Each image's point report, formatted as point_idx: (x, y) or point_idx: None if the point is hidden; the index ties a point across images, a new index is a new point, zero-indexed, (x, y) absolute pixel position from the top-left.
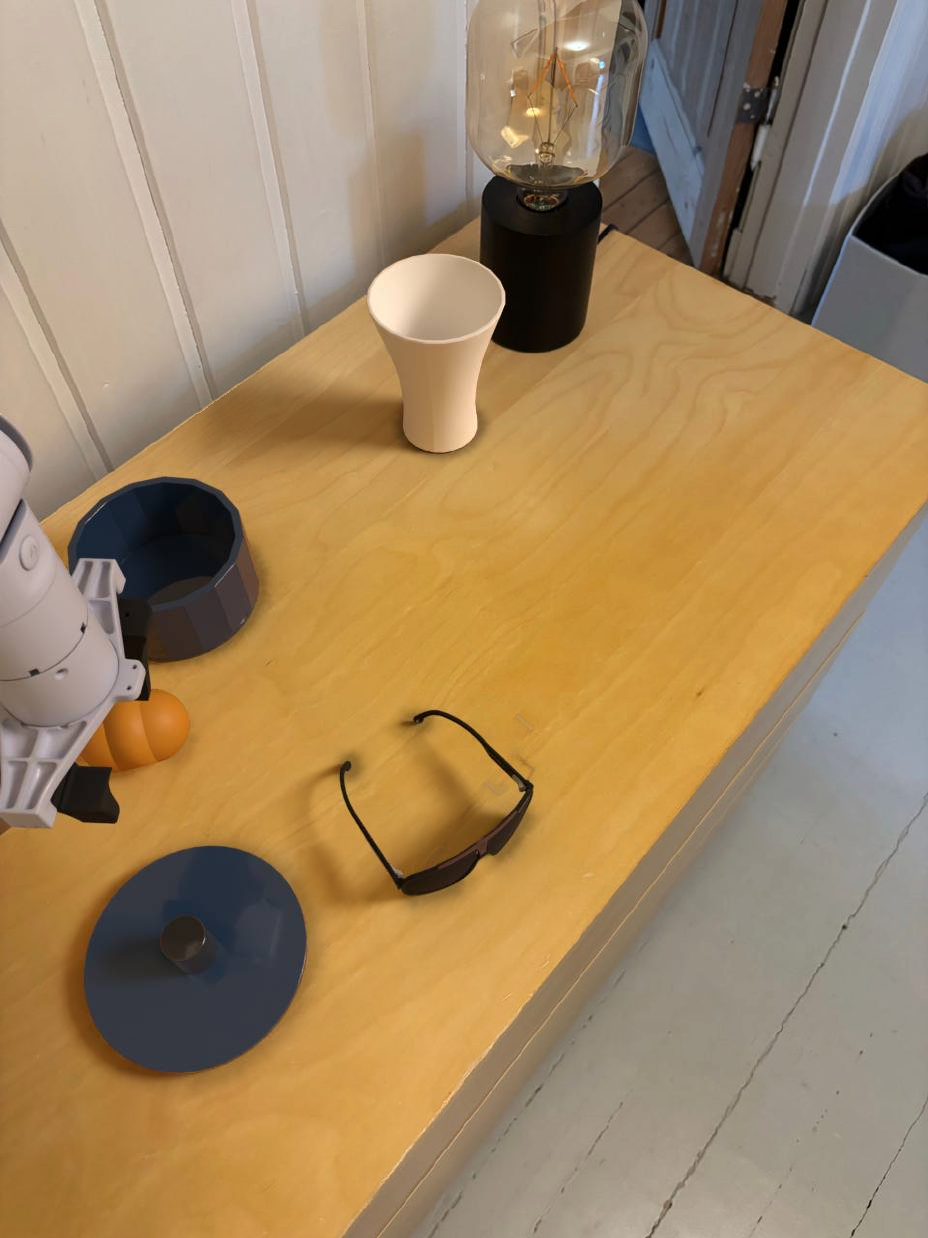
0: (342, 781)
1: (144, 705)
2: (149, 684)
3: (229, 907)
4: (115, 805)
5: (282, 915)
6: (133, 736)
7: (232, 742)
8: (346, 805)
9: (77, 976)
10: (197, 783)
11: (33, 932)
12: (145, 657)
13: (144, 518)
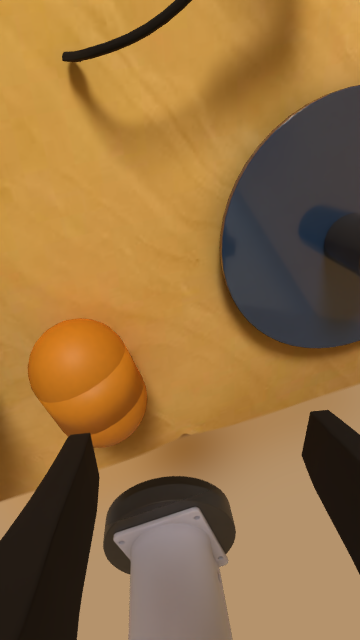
0: (118, 40)
1: (65, 394)
2: (64, 460)
3: (301, 210)
4: (355, 446)
5: (319, 131)
6: (112, 390)
7: (69, 260)
8: (166, 20)
9: None
10: (133, 288)
11: (293, 390)
12: (13, 554)
13: None
